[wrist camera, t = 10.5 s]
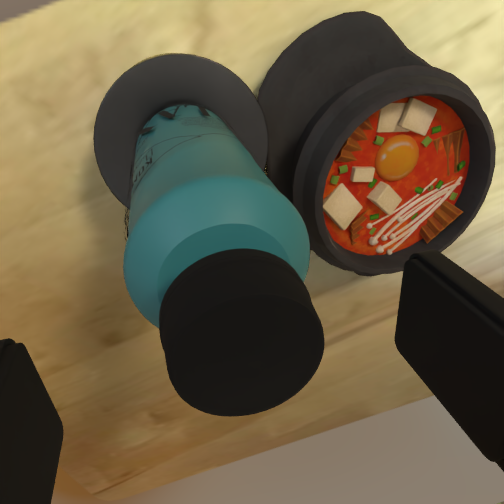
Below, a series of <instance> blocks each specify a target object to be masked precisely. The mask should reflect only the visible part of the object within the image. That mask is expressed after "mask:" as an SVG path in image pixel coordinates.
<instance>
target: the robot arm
mask: <svg viewBox="0 0 504 504" xmlns="http://www.w3.org/2000/svg"><path fill="white" fill-rule="evenodd" d="M395 344H396V347H397V349H398V351H399V352H400V354H401V355H402V356H403V357H404V358H405V360H406V361H407V362H408V363H409V365H410V366H411V367H412V368H413V369H414V371H415V372H416V373H417V374H418V376H419V377H420V378H421V379H422V380H423V382H424V383H425V384H426V385H427V386H428V388H429V389H430V390H431V391H432V393H433V394H434V395H435V396H436V397H437V399H438V400H439V401H440V402H441V404H442V405H443V406H444V407H445V408H446V410H447V411H448V412H449V413H450V415H451V416H452V417H453V418H454V419H455V421H456V422H457V423H458V424H459V426H461V428H462V429H463V430H464V432H465V433H466V434H467V435H468V437H469V438H470V439H471V440H472V441H473V443H474V444H475V445H476V446H477V447H478V449H479V450H480V451H481V452H482V454H483V455H484V456H485V457H486V458H487V459H488V460H490V461H493V462H496V463H497V464H498V466H499V467H500V468H501V469H502V470H503V471H504V298H502V297H501V296H500V295H498V294H497V293H495V292H494V291H493V290H491V289H490V288H489V287H487V286H486V285H484V284H483V283H482V282H480V281H479V280H477V279H476V278H475V277H473V276H472V275H471V274H469V273H468V272H466V271H465V270H464V269H462V268H461V267H460V266H458V265H457V264H455V263H454V262H453V261H451V260H450V259H448V258H447V257H446V256H444V255H443V254H442V253H440V252H439V251H437V250H427V251H422V252H418V253H413V254H412V255H411V256H410V257H409V260H407V261H406V262H405V264H404V270H403V278H402V286H401V293H400V301H399V309H398V316H397V324H396V332H395ZM62 441H63V425H62V421H61V419H60V417H59V415H58V413H57V411H56V409H55V407H54V405H53V403H52V401H51V398H50V396H49V394H48V392H47V390H46V388H45V386H44V384H43V382H42V380H41V378H40V376H39V374H38V372H37V370H36V368H35V366H34V363H33V361H32V359H31V357H30V355H29V353H28V351H27V349H26V347H25V346H24V344H23V343H15V341H14V340H12V339H9V338H8V339H3V340H0V504H51V499H52V494H53V489H54V484H55V477H56V473H57V467H58V462H59V457H60V452H61V446H62ZM498 504H504V502H501V503H498Z"/></svg>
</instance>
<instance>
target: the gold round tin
mask: <svg viewBox="0 0 504 504" xmlns="http://www.w3.org/2000/svg"><path fill="white" fill-rule="evenodd" d="M183 102H189V104H185V103H183ZM175 103H176V104H175ZM195 104H197V105H195ZM200 104H201V105H200ZM168 105H169V106H168ZM177 105H195V106H200V107H204V108H205V109H206V106H207V110H209V111H211V112H213V113H214V114H215V115H217V116H218V117H220V118H221V120H222V119H223V120H222V121H223V122H224V123H225V124H226V125H227V127H228V128H229V129H230V130H231V131H232V132H234V133H233V134H235V133H236V134H237V135H238V136H237V135H236V134H235V135H236V137H237V139H239V141H240V142H241V143H242V145H244V147H245V148H246V150H247V151H248V152H249V153H250V154H251V156H252V157H254V158H253V159H254V160H255V162H256V163H257V165H258V166H259V167H260V168H261V169H262V171H263V172H264V169H265V166H266V162H267V156H268V131H267V125H266V121H265V117H264V114H263V112H262V109H261V107H260V105H259V103H258V101H257V99H256V97H255V96H254V94H253V93H252V91H251V90H250V89H249V87H248V86H247V85H246V84H245V83H244V82H243V81H242V80H241V79H240V78H239V77H238V76H237V75H236V74H234V73H233V72H232V71H231V70H229V69H228V68H226V67H224V66H222V65H221V64H219V63H217V62H214V61H212V60H210V59H207V58H204V57H200V56H196V55H191V54H182V53H179V54H178V53H166V54H160V55H155V56H152V57H149V58H146V59H144V60H142V61H141V62H139V63H137V64H136V65H134V66H133V67H131V68H130V69H129V70H127V71H126V72H124V73H123V74H122V75H121V76H120V77H119V78H118V79H117V80H116V81H115V82H114V84H113V85H112V86H111V88H110V89H109V90H108V92H107V93H106V95H105V97H104V99H103V101H102V103H101V105H100V108H99V110H98V113H97V117H96V121H95V126H94V151H95V156H96V161H97V164H98V167H99V170H100V173H101V175H102V177H103V179H104V181H105V183H106V184H107V186H108V187H109V189H110V190H111V192H112V193H113V194H114V196H115V197H116V198H117V199H118V200H119V201H120V202H121V203H122V204H123V205H124V206H125V207H128V205H129V207H128V209H129V210H130V203H131V201H130V200H131V194H130V193H132V183H133V180H132V179H130V169H131V163H132V164H134V162H135V159H134V158H135V151H136V145H137V141H138V137H139V135H137V134H139V133H138V132H140V131H141V130H142V129H143V128H142V127H144V126H145V125H146V123H147V122H148V121H149V120H150V119H151V118H152V117H153V116H154V115H156V114H157V113H159V112H160V111H162V110H164V108H165V109H166V108H169V107H172V106H177ZM203 105H204V106H203ZM165 106H166V107H165ZM208 107H209V108H208ZM210 108H211V109H210ZM212 109H213V110H212ZM157 110H158V111H159V112H158V111H157ZM154 112H155V113H154ZM156 112H157V113H156ZM218 113H219V114H218ZM153 114H154V115H153ZM148 117H149V118H148ZM150 117H151V118H150ZM147 118H148V119H147ZM146 119H147V120H146ZM224 119H225V120H226V121H227V122H228V124H229V125H230V126H231V127H232V128H233V129H234V130H235V131H234V130H232V128H231V127H230V126H229V125H228V124H227V122H225V120H224ZM145 122H146V123H145ZM140 127H141V128H140ZM137 136H138V137H137ZM241 140H242V141H243V142H244V143H243V142H242V141H241ZM135 143H136V145H135ZM133 145H134V146H133ZM247 147H248V148H249V149H250V150H249V149H248V148H247ZM134 148H135V149H134ZM132 152H133V153H132ZM132 154H133V155H132ZM253 154H255V156H256V157H255V156H254V155H253ZM133 160H134V161H133ZM257 160H258V161H257ZM132 161H133V162H132ZM258 163H259V164H258ZM132 168H133V169H132V172H131V178H132V174H133V172H134V165H133V166H132ZM130 181H132V182H131V183H130ZM129 184H130V187H131V191H130V189H129ZM128 191H129V192H130V193H129V192H128ZM128 193H129V196H128V195H127V194H128ZM129 202H130V203H129ZM126 205H127V206H126Z"/></svg>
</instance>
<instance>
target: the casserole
mask: <svg viewBox="0 0 504 504" xmlns="http://www.w3.org/2000/svg"><path fill="white" fill-rule="evenodd" d="M257 101H258V103H259V105H260V107H261V109H262V112H263V114H264V117H265V121H266V125H267V131H268V156H267V168H268V178H269V179H270V181H271V182H272V183H273V184H274V186H275V187H276V188H277V189H278V191H279V192H281V193H282V194H283V195H284V196H285V197H286V198H287V199H288V200H289V201H290V202H291V203H292V204H293V206H294V207H295V208H296V209H297V211H298V212H299V214H300V216H301V217H302V219H303V221H304V224H305V226H306V229H307V232H308V236H309V243H310V250H312V251H314V252H315V253H316V255H318V256H319V257H321V258H322V259H323V260H325V261H326V262H328V263H329V264H331V265H333V266H336V267H338V268H341V269H343V270H348V271H354V272H355V273H357V274H358V275H363V276H375V275H380V274H390V273H395V272H400V271H403V270H404V264H405V262H406V261H407V260H409V257H410V256H411V255H412V254H413V253H418V252H422V251H427V250H437V251H439V252H440V253H441V252H442V251H443V250H445V249H446V248H447V247H448V246H450V245H451V244H452V243H453V242H454V241H455V240H456V239H457V238H458V237H459V236H460V235H461V234H462V233H463V232H464V231H465V229H466V228H467V227H468V226H469V224H470V223H471V222H472V220H473V219H474V218H475V216H476V214H477V213H478V211H479V209H480V207H481V206H482V204H483V202H484V200H485V198H486V195H487V192H488V190H489V187H490V185H491V181H492V177H493V172H494V167H495V151H496V147H495V140H494V134H493V130H492V127H491V125H490V122H489V120H488V117H487V115H486V114H485V112H484V111H483V110H482V107H481V105H480V103H479V100H478V99H477V98H476V96H475V95H474V94H473V92H472V91H471V90H470V88H469V87H468V86H467V85H466V84H465V83H463V82H462V81H461V80H460V79H458V78H457V77H456V76H454V75H453V74H451V73H448V72H446V71H443V70H441V69H438V68H436V67H432V66H431V65H429V64H428V63H427V62H425V61H424V60H423V59H421V58H420V57H418V56H417V55H416V54H414V53H413V52H412V51H410V50H409V49H408V48H407V47H406V46H405V45H404V43H403V42H402V41H401V40H400V38H399V37H398V36H397V35H396V34H395V32H394V31H393V30H392V29H391V28H390V27H389V26H388V25H387V23H386V22H385V21H384V20H383V19H382V18H381V17H379V16H376V15H374V14H371V13H368V12H365V11H359V12H349V13H343V14H340V15H338V16H335V17H332V18H329V19H327V20H324V21H322V22H320V23H319V24H317V25H315V26H314V27H312V28H311V29H309V30H307V31H306V32H304V33H302V34H301V35H300V36H299V37H298V38H297V39H296V40H295V41H294V42H293V43H291V44H290V45H289V46H288V47H287V48H286V49H285V50H284V51H283V52H282V53H281V55H280V56H279V57H278V59H277V60H276V61H275V63H274V64H273V65H272V67H271V68H270V69H269V71H268V72H267V75H266V77H265V79H264V81H263V83H262V85H261V87H260V89H259V93H258V100H257Z"/></svg>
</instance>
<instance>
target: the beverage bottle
mask: <svg viewBox="0 0 504 504" xmlns="http://www.w3.org/2000/svg"><path fill="white" fill-rule="evenodd" d="M183 103H185V104H189V102H183ZM175 104H176V103H175ZM195 105H197V104H195ZM195 105H177V106H172V107H169V108H166V109H165V108H164V110H162V111H160V112H159V111H158V110H157V111H158V112H159V113H157V112H156V113H157V114H156V115H154V114H153V115H154V116H153V117H152V118H151V117H150V118H151V119H150V120H149V121H148V122H147V123H146V122H145V123H146V125H145V126H144V127H142V128H143V129H142V130H141V131H140V132H138V133H139V134H137V135H139V137H138V136H137V137H138V141H137V145H136V143H135V145H136V151H135V158H134V159H135V162H134V164H132V163H131V169H130V179H132V180H133V183H132V193H130V192H129V191H128V192H129V193H130V194H131V200H130V201H131V203H130V202H129V203H130V212H129V213H130V214H129V216H128V214H127V216H128V217H127V216H126V214H125V217H127V218H128V219H129V226H127V238H128V239H127V241H126V247H125V251H124V262H123V270H124V279H125V283H126V287H127V290H128V292H129V295H130V297H131V299H132V301H133V302H134V304H135V305H136V307H137V308H138V310H139V311H140V312H141V313H142V315H143V316H144V317H145V318H146V319H147V320H149V321H150V322H151V323H152V324H153V325H155V326H156V327H158V328H159V330H160V339H161V343H162V347H163V349H164V352H165V358H166V364H167V370H168V374H169V378H170V380H171V382H172V385H173V386H174V388H175V390H176V391H177V393H178V394H179V396H180V397H181V398H182V399H183V400H184V401H185V402H187V403H188V404H189V405H191V406H192V407H194V408H196V409H198V410H200V411H203V412H205V413H209V414H212V415H218V416H244V415H251V414H256V413H259V412H262V411H266V410H268V409H271V408H273V407H275V406H278V405H280V404H282V403H283V402H285V401H287V400H288V399H290V398H291V397H293V396H294V395H295V394H297V393H298V392H299V391H300V390H301V389H302V388H303V387H304V386H305V385H306V384H307V383H308V382H309V381H310V379H311V378H312V377H313V375H314V374H315V372H316V370H317V369H318V366H319V364H320V362H321V359H322V356H323V351H324V333H323V327H322V324H321V321H320V319H319V317H318V315H317V313H316V311H315V309H314V307H313V305H312V302H311V298H310V295H309V292H308V290H307V288H306V286H305V284H304V280H305V278H306V275H307V271H308V267H309V260H310V243H309V236H308V232H307V229H306V226H305V224H304V221H303V219H302V217H301V216H300V214H299V212H298V211H297V209H296V208H295V207H294V206H293V204H292V203H291V202H290V201H289V200H288V199H287V198H286V197H285V196H284V195H283V194H282V193H281V192H279V191H278V189H277V188H276V187H275V186H274V184H273V183H272V182H271V181H270V179H269V178H268V177H267V176H266V174H265V173H264V172H263V171H262V169H261V168H260V167H259V166H258V165H257V163H256V162H255V160H254V159H253V158H254V157H252V156H251V154H250V153H249V152H248V151H247V150H246V148H245V147H244V145H242V143H241V142H240V141H239V139H237V137H236V135H237V134H236V133H235V134H236V135H235V134H233V133H234V132H232V131H231V130H230V129H229V128H228V127H227V125H226V124H225V123H224V122H223V121H222V120H223V119H222V120H221V118H220V117H218V116H217V115H215V114H214V113H213V112H211V111H209V110H207V106H206V109H205V108H204V107H200V106H195ZM200 105H201V104H200ZM168 106H169V105H168ZM203 106H204V105H203ZM165 107H166V106H165ZM208 108H209V107H208ZM210 109H211V108H210ZM212 110H213V109H212ZM154 113H155V112H154ZM218 114H219V113H218ZM148 118H149V117H148ZM148 118H147V119H148ZM147 119H146V120H147ZM224 120H225V119H224ZM225 122H227V121H226V120H225ZM227 124H228V122H227ZM228 125H229V124H228ZM229 126H230V125H229ZM230 127H231V126H230ZM140 128H141V127H140ZM231 128H232V127H231ZM232 130H234V129H233V128H232ZM234 131H235V130H234ZM237 136H238V135H237ZM241 141H242V140H241ZM242 142H243V141H242ZM243 143H244V142H243ZM133 146H134V145H133ZM247 148H248V147H247ZM134 149H135V148H134ZM248 149H249V148H248ZM249 150H250V149H249ZM132 153H133V152H132ZM132 155H133V154H132ZM253 155H254V156H255V154H253ZM255 157H256V156H255ZM133 161H134V160H133ZM133 161H132V162H133ZM257 161H258V160H257ZM258 164H259V163H258ZM133 165H134V172H133V174H132V178H131V172H132V169H133V168H132V166H133ZM131 182H132V181H130V183H131ZM129 189H130V191H131V187H130V184H129ZM129 193H128V194H127V195H128V196H129ZM126 206H127V205H126ZM128 207H129V205H128ZM128 207H127V208H128ZM125 212H126V211H125ZM127 212H128V211H127ZM127 212H126V213H127ZM128 219H127V220H128ZM124 221H125V223H126V225H127V224H128V223H127V221H126V218H125V220H124ZM124 235H125V234H124ZM125 239H126V238H125Z"/></svg>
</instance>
